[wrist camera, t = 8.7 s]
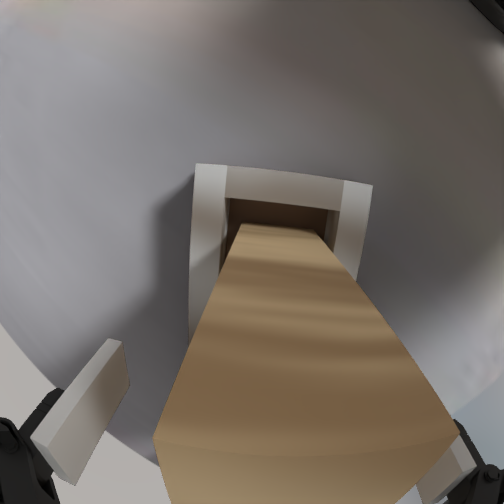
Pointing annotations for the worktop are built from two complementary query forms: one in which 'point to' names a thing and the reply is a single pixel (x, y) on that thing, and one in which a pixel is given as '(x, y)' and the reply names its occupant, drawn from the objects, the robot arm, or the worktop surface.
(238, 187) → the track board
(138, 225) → the worktop surface
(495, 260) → the worktop surface
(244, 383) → the door slab
